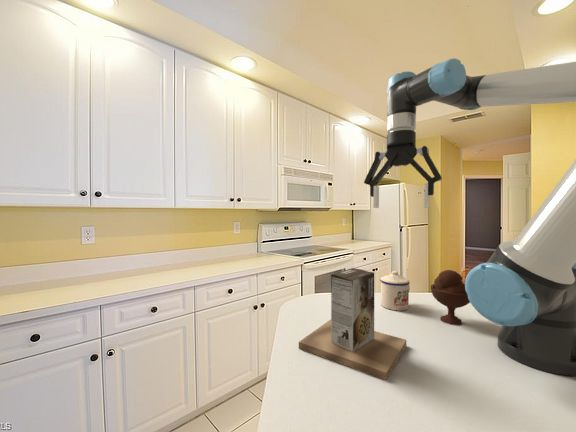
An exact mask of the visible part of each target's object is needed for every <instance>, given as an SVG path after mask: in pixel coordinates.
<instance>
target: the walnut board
mask: <svg viewBox="0 0 576 432" xmlns="http://www.w3.org/2000/svg"><path fill="white" fill-rule="evenodd" d="M406 348H407V339H406V338H401V337H397V336H394V335H390V334H385V333H382V332H379V331H375V330H374V339H373V340H371V341H370V342H368V343H367V344H365V345H363V346H362V347H360V348H359V349H357V350H356V351H354V352H351V351H349V350H347V349H345V348H343V347H341V346H338V345H336V344H334V343H332V342H331V319H329V320H327V321H326V322H325V323H324V324H322V325H320V326H319V327H318V328H317V329H315V330H313V331H312V332H310V333H309V334H308V335H306V336H304V338H302V339H300V340H299V341H298V349H300V350H303V351H306V352H307V353H311V354H313V355H316V356H319V357H322V358H324V359H326V360H329V361H332V362H335V363H338V364H340V365H343V366H345V367H346V366H347V367H348V368H352V369H354V370H357V371H360V372H363V373H365V374H368V375H370V376H373V377H376V378H379V379H382V380H384V381H387V380H388V378H389V377H390V375H391V373H392V371H393V369H394V368H395V366H396V365H397V363H398V361H399V359H400V358H401V356H402V355H403V352H404V351H405V349H406Z"/></svg>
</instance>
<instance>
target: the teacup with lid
mask: <svg viewBox="0 0 576 432" xmlns="http://www.w3.org/2000/svg"><path fill="white" fill-rule="evenodd" d="M379 280H380V281H379V282H380V305H381V307H383V308H384V307H385V308H384V309H387V310H390V309H391V310H392V311H396V310H397V312H398V311H399V312H400V311H406V310H408V309H409V303H410V302H409V296H410V295H409V293H410V280H409V279H408V278H406V277H404V276H402V275H401V274H399V272H398V271H395V270H393V271H392V270H391V273H389V274H388V275H383V276H381V277H380V279H379ZM391 310H390V311H391Z"/></svg>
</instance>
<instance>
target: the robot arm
mask: <svg viewBox="0 0 576 432" xmlns="http://www.w3.org/2000/svg"><path fill="white" fill-rule="evenodd" d="M386 89H387V91H386V99H387V100H386V104H387V106H386V108H387V112H386V113H387V114H386V115H387V116H386V132H387V134H386V150H385V152H384V151H383V152H380V151H376V152H375V154H374V160H373V162H372V164H371V167H370V168H369V170H368V173H367V174H366V177H365V178H364V181H363V183H364V184H365V185H368V186H369V188H370V190H369V191H370V197H372V198H373V200H372V201H373V204H372V205H373V207H372V208H373V209H379V208H380V186H379V185H378V184H379V183H380V182H381V180H382V179H383V178H384V177H385V175H386V174H387V173H388V172H389V171H390V169H392V168H393V167H401V166H402V167H403V166H404V167H406V166H409V165H411V166H412V167H413V168H414V170H416V171H417V172H418V173H419V174H420V175H421V176H422V177H423V178H424V179H425V180H426V181H427V182H425V183H424V192H423V193H424V194H423V195H424V198H423V199H424V201H423V203H424V204H423V206H424V207H423V208H424V209H429V208H430V196H434V194H435V183H437V182H439V181H442V179H443V177H442V175H441V174H440V171H439V170H438V168H437V167H436V165H435V163H434V161H433V159H432V158H431V156H430V153H429V150H430V149H429V148H428V147H427V146H426V145H423V146H422V147H420V148H418V147H417V146H416V145H417V142H416V141H417V139H416V138H417V137H416V136H417V133H416V129H417V121H416V120H417V107H418V106H422V105H424V104H427V103H430V102H433V101H434V102H437V103H441V104H444V105H448V106H452V107H454V108H456V109H460V110H463V111H475V110H478V109H480V108H483V107H498V106H499V107H502V106H503V107H504V106H521V105H522V106H524V105H545V104H563V103H565V104H566V103H576V61H571V62H564V63H557V64H550V65H542V66H538V67H537V66H536V67H530V68H523V69H522V68H521V69H517V70H516V69H515V70H508V71H502V72H495V73H489V74H484V75H477V76H476V75H475V76H470V75H467V72H466V67H465V65H464V64H462V62H461V60H460V59H458V58H455V57H453V58H449V59H446V60H444V61H441V62H438V63H436V64H435V65H433V66H431V67H430V68H427V69H425V70H424V71H422V72H419V73H418V74H416V73H415V72H414V71H413V72H412V71H402V72H400V73H398V72H397V73H395V74H393V75H391V77H390V78H389V79H388V82H387V88H386ZM417 154H419V155H420V156H421V157H423V159H424V160H425V162H426V164H427V166H428V167H429V170H430V171H431V173H432V175H433V177H432V176H431V175H430V174H429V173H428V172H427V171H426V170H425V169H424V168H423V167H422V166H421V165H420V164H419V163H418V162H417V161H416V160H415V159H414V158H415V157H416V156H417ZM384 158H386V159H387V160H386V162H385V163H384V164H383V166H382V167H381V169H380V170H379V171H378V169H379V167H380V166H381V165H380V164H381V163H382V160H384ZM377 171H378V172H377ZM464 284H465V290H466V292H467V295H468V299H469V301H470V303H469V304H471V306H472V307H473V308H474V309H475V310H476V311H477V312H478V314H480V315H481V316H482V317H483V318H485V319H487V320H488V321H490V322H492V323H493V324H496V325H500V326H501V328H500V329H499V332H498V334H497V348H498V349H499V350H500V351H501V352H502V353H503V354H504V355H506V356H507V357H508V358H510V359H513V360H514V361H516V362H518V363H520V364H523V365H526V366H528V367H531V368H534V369H537V370H540V371H544V372H548V373H551V374H557V375H563V376H571V377H576V158H574V161H573V162H572V164H570V166H569V168H568V169H567V170H566V171H565V173H564V174H563V175H562V176H561V178H560V179H559V181H558V182H557V183H556V184H555V186H554V187H553V189H552V190H551V191H550V193H548V195H547V197H546V199H544V201H543V202H542V203H541V205H540V206H539V207H538V208H537V210H536V212H535V213H534V214H533V215H532V217H531V218H530V219H529V221H528V222H527V223H526V225H525V226H524V227H523V229H522V230H521V231H520V233H518V235H517V237H515V239H514V240H509V241H503V242H500V244H499V245H498V246H497V247H496V249H495V250H494V252H493V253H492V254H491V256H490V258H489V259H488V260H487V261H486V262H483V263H479V264H478V265H476V266H475V267H473V268H472V269H471V270H470V271H469V272H468V273H467V275H466V278H465V281H464Z"/></svg>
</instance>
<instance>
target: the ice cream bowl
mask: <svg viewBox="0 0 576 432" xmlns="http://www.w3.org/2000/svg"><path fill="white" fill-rule="evenodd" d="M430 290H431V294H432V297H433V298H434V299H435V300H436V301H437V302H439V303H440V305H443V306H445V307H446V308H447V314H445V315H441V316H440V321H441V322H443V323H444V324H448V325H453V326H454V325H455V326H460V325H462V324H463V321H462V319H460V318H459V317H458V316H457V315H455V312H456V309H458V308H459V309H460V308H463V307H465V306H467V305H469V304H471V303H470V301H469V299H468V295H467V292H466V290H465V282H463V276H462V275H461V274H459V272H457V271H455V270H453V269H445V270H443V271H441V272H440V273H438V276H437V277H436V278H435V279H434V282H433V284H430Z"/></svg>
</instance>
